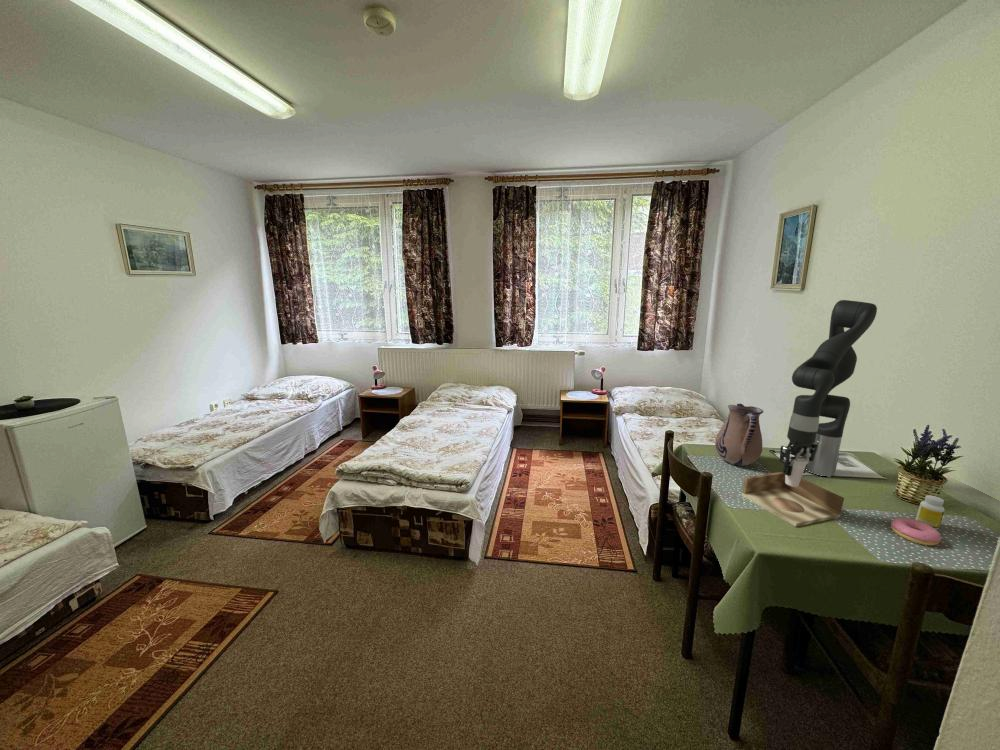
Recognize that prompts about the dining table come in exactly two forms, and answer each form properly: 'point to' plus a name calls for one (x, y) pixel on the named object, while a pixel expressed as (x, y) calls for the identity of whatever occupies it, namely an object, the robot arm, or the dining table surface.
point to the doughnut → (916, 531)
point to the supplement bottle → (931, 511)
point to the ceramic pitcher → (740, 436)
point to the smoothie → (796, 471)
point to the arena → (792, 499)
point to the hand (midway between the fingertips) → (794, 473)
